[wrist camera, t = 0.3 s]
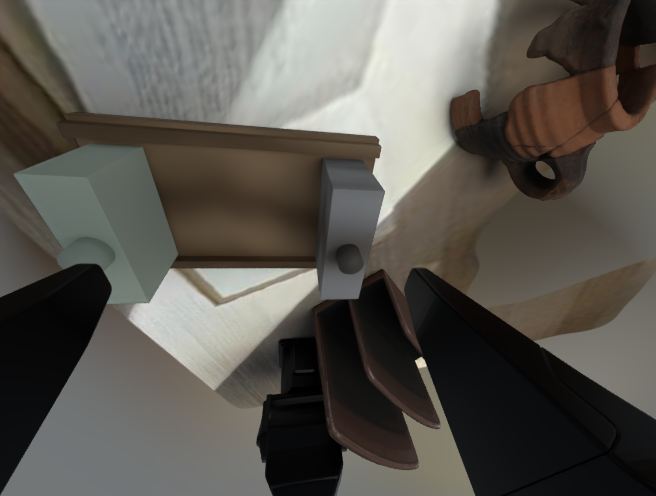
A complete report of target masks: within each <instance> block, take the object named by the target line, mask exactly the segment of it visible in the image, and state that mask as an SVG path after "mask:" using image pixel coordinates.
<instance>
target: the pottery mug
mask: <svg viewBox="0 0 656 496" xmlns="http://www.w3.org/2000/svg"><path fill="white" fill-rule="evenodd" d="M571 1H573V2H575V3H577V4H579V5H580V6H579V7H575V8H573V9H572V10H570V11H568V12H566V13H564V14H563V15H562V16H561V17H559V18H558V19H557V20H556V21H555V22H554V23H553V24H552V25H550V26H548V27H546V28H544V29H542V30H541V31H539V32H538V33H537V35H536V36H535V37H534V39H533V41H532V43H531V45H530V46H529V48H528V50H527V57H528V58H538V57H543V56H546V57H547V58H548V59H549V60H552V61H554V62H556V63H558V64H559V65H561V66H563V68H564V69H565V70H566V71H568V72H569V73H570V76H569V77H567V78H563V79H559V80H556V81H553V82H549V83H544V84H540V85H533V86H529V87H527V88H525V89H524V90H523V91H521V92H520V93H518V94H517V95H516V96H515V97H514V98H513V99H512V101H511V103H510V106H509V109H508V111H507V112H504V113H501V114H499V115H498V116H496V117H493V118H491V119H486V120H483V119H482V114H481V111H480V110H481V108H480V97H479V96H480V92H479V91H478V90H472V91H469V92H467V93H466V94H465V95H462V96H459V97H457V98H454V99H453V100H452V102H451V117H452V123H453V128H454V130H455V134H456V137H457V138H458V140H459V143H460V144H461V145H462V146H463V147H464V149H465V150H467V151H468V152H470V153H473V154H478V155H483V156H487V157H491V158H494V159H497V160H502V162H503V163H504V164H505V165H506V167H507V169H508V171H509V174H510V176H511V179H512V181H513V182H514V184H515V185H516V187H517V188H518V189H519V190H520V191H521V192H523V193H524V194H525V195H527V196H529V197H532V198H535V199H539V200H541V201H544V200H555V199H559V198H562V197H564V196H566V195H568V194H569V193H570V192H572V190H573V189H575V188H576V187H577V186H578V185H579V184H580V183H581V181H582V180H583V177H584V175H585V171H586V165H587V159H588V155H589V152H590V151H591V149H592V148H593V146H594V145H595V143H596V141H597V140H599V139H601V138H602V137H603V136H604V134H605V133H607V132H613V131H624V130H629V129H631V128H633V127H635V126H636V125H637V124H638V123H639V122H640V121H641V120H642V119H643V118H644V116H645V115H646V112H647V111H648V109H649V108H650V105H651V103H652V101H653V98H654V95H655V94H656V64H655V65H650V66H647V67H643V68H640V67H639V62H640V45H644V44H651V43H655V42H656V0H571ZM618 74H619V83H618V87H617V83H616V75H618ZM537 161H543V162H545V163H547V164H548V165H549V166H550V167H551V168H552V170H553V171H554V174H555V179H548V178H546V177H544V176H542V175H541V174H540V173H539V172H538V171H537V169H536V167H535V165H536V162H537Z"/></svg>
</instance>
